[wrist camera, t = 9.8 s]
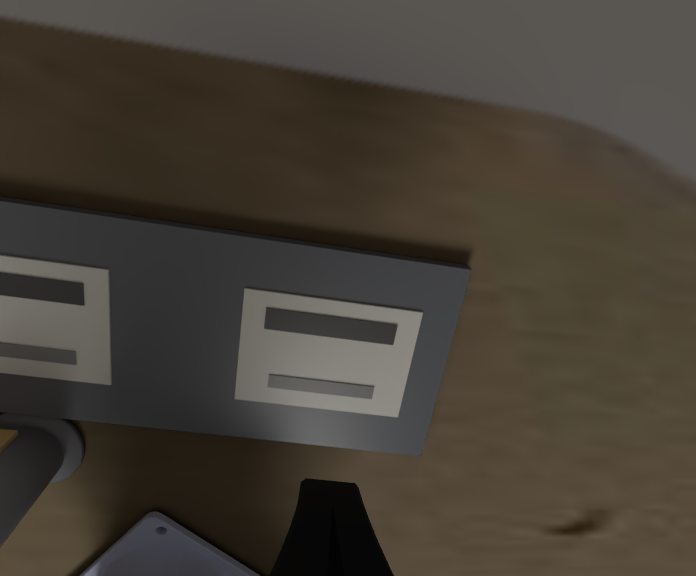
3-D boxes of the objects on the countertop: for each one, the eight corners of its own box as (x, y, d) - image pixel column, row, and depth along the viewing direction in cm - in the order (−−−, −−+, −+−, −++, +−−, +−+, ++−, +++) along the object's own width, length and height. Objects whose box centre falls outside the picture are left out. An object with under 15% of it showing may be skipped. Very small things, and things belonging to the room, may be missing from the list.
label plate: (467, 265, 18) (473, 271, 17) (401, 511, 23) (403, 524, 22) (-135, 176, 16) (-157, 179, 15) (-76, 467, 21) (-90, 480, 20)
